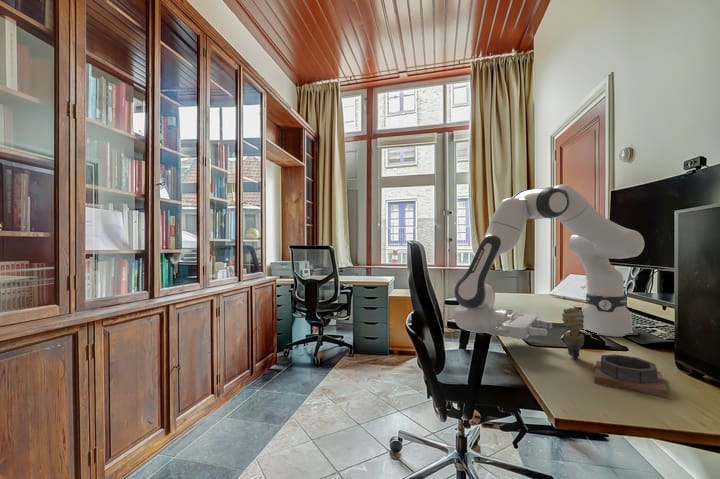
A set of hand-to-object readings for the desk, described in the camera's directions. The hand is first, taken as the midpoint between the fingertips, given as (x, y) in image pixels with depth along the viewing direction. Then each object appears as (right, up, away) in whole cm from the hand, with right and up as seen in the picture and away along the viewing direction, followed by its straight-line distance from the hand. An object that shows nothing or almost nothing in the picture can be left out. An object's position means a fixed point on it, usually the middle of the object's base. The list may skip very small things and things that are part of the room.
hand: (549, 328), depth 99 cm
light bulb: (+5, -8, -4) cm, 10 cm away
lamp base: (+8, -7, -20) cm, 22 cm away
